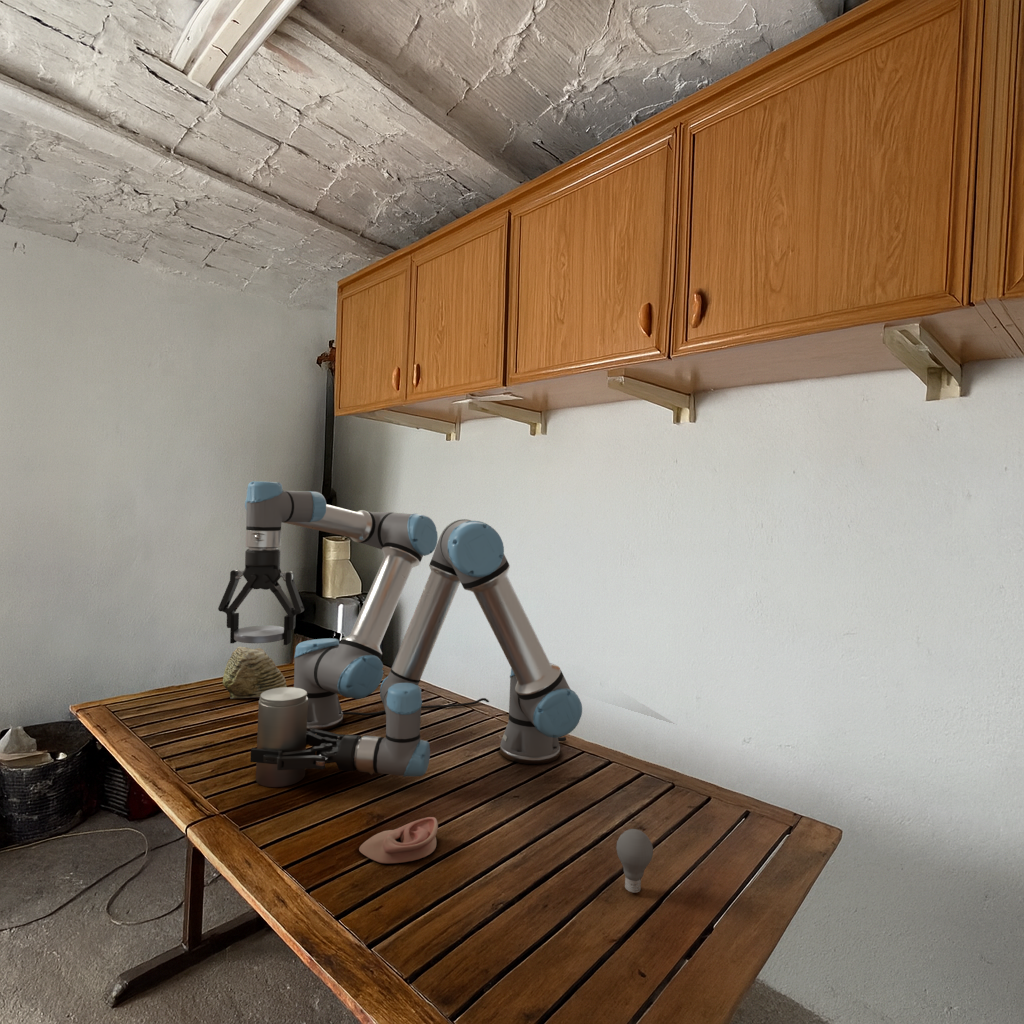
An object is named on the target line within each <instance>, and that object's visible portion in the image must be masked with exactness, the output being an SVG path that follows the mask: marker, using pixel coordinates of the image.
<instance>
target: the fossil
mask: <svg viewBox="0 0 1024 1024" xmlns="http://www.w3.org/2000/svg"><path fill="white" fill-rule="evenodd" d="M222 676H223V677H222V685H223V687H224V688H225V690H226V691H228V693H229V698H230V699H250V698H260V695H261V693H263V692H264V691H267V690H270V689H274V688H282V687H288V686H287V680H286V678H285V676H284V674H283V673H282V672H281V669H279V668H278V667H277V665H276V663H275V662H274V660H273V659H272V658H271V657H270V656H269V655H268V654H267V653H266V652H265V650H264V649H263V648H260V647H258V648H251V647H247V646H246V647H245V646H238V647H237V648H236V649H235V650H233V651H232V653H231V656H230V657H229V659H228V660H227V663H226V666H225V668H224V671H223V675H222Z"/></svg>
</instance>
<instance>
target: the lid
mask: <svg viewBox="0 0 1024 1024" xmlns="http://www.w3.org/2000/svg"><path fill="white" fill-rule="evenodd" d="M234 640H235V641H237V642H238V643H243V644H269V643H276V642H279V641H284V626H279V625H251V626H244V627H241V628H240V627H239V629H237V630H235V631H234Z"/></svg>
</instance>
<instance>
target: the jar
mask: <svg viewBox="0 0 1024 1024" xmlns="http://www.w3.org/2000/svg"><path fill="white" fill-rule="evenodd" d="M306 695H307V691H305V690H303V689H300V688H294V686H293V687H292V686H287V687H282V688H274V689H270V690H267V691H264V692H263V693H261V695H260V697H259V700H258V709H257V710H258V711H257V732H256V733H257V734H256V749H267V750H282V753H285V752H293V751H301V750H307V746H306V733H307V707H308V697H307V696H306ZM255 765H256V766H255V782H256V783H257V784H258V785H260V786H263V787H267V788H283V787H288V786H291V785H294V784H297V783H299V782H301V781H302V780H303V779H304V778H305V776H306V769H296V770H277V764H268V763H257V762H255Z"/></svg>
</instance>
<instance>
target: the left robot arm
mask: <svg viewBox="0 0 1024 1024" xmlns="http://www.w3.org/2000/svg"><path fill="white" fill-rule="evenodd" d="M244 508H245V512H246V516H245V522H246V523H245V526H246V527H245V528H246V529H245V547H246V548H247V549H246V550H245V553H244V569H243V570H240V569H238V568H236V569H233V570H231V571H230V572H229V582H228V584H227V586H226V588H225V591H224V593H223V595H222V598H221V601H220V602H219V605H218V608H217V610H218V612H223V613H225V614H226V628H227V629H229V632H230V633H229V634H230V635H229V639H230V640H229V644H235V643H237V642H238V641H235V640H234V631H235V630H237V629H240V624H239V623H240V613H239V612H237V610H238V608H239V607H240V606H241V605H242V603H243V602H244V600H245V599H246V598H247V597H248V595H249V594H250V593H251V591H252V590H263V591H264V590H265V591H266V590H267V591H268V590H270V592H271V593H273V595H274V596H275V598H276V599H277V601H278V602H279V604H280V605H281V607H282V609H283V610H284V611H285V613H286V615H284V618H283V627H284V639H283V646H288V645H289V644H290V643H291V642H292V631H293V630H295V629H296V617H297V615H300V614H301V613H303V612H304V611H305V606H304V604H303V602H302V599H301V596H300V593H299V590H298V588H297V585H296V582H295V572H294V571H293V570H290V571H282V570H281V550H280V549H279V548H280V547H281V545H282V523H283V524H288V525H293V526H296V527H302V528H307V529H311V530H315V531H320V532H325V533H330V534H334V535H339V536H343V537H344V536H345V537H348V538H349V539H351V540H352V541H353V542H354V543H359V544H363V545H366V546H370V547H373V548H375V549H379V550H381V551H382V554H383V559H382V561H381V563H380V565H379V568H378V570H377V573H376V575H375V577H374V579H373V581H372V584H371V586H370V589H368V593H367V595H366V597H365V599H364V602H363V605H362V606H361V609H360V611H359V613H358V615H357V618H356V620H355V622H354V625H353V627H352V628H351V630H350V634H349V635H347V636H344V637H342V638H341V640H340V641H339V639H338V638H331V637H329V638H317V639H316V638H315V639H308V640H304V641H301V642H299V643H298V644H297V645H296V646H295V652H294V656H293V658H294V670H293V671H294V672H293V687H294V688H300V689H303V690H305V691H307V695H306V696H307V697H308V707H307V731H309V732H310V729H318V730H322V731H329V730H332V729H335V728H337V727H339V726H340V725H342V723H343V722H344V715H345V716H364V717H365V716H367V717H368V716H377V715H381V714H386V712H385V709H383V710H379V711H373V712H356V711H343V709H342V706H341V702H340V699H339V695H340V696H342V697H345V698H348V699H355V700H359V699H365V698H367V697H368V696H370V695H372V694H373V693H374V692H375V691H376V690H377V688H378V687H379V686H380V685H381V683H382V681H383V677H384V669H383V668H384V663H383V661H382V660H381V658H382V656H383V652H382V649H381V644H382V641H383V639H384V636H385V634H386V632H387V629H388V627H389V625H390V622H391V619H392V618H393V615H394V612H395V610H396V608H397V605H398V603H399V601H400V598H401V596H402V594H403V592H404V589H405V586H406V584H407V581H408V579H409V576H410V574H411V572H412V570H413V568H415V567H418V566H420V564H421V562H422V560H423V557H426V556H429V555H430V554H432V553H434V551H435V549H436V546H437V543H438V540H439V535H438V531H437V526H436V524H435V522H434V521H433V519H432V518H431V517H430V516H428V515H426V514H419V513H417V512H416V513H415V512H414V513H405V512H394V511H393V512H392V511H383V512H381V511H368V510H364V509H360V510H356V511H354V510H350V509H346V508H343V507H339V506H335V505H331V504H327V500H326V498H325V496H324V495H323V494H322V493H321V492H319V491H311V490H284V488H283V484H282V482H279V481H260V480H259V481H257V480H256V481H255V480H253V481H250V482H249V483H248V484H247V489H246V498H245V501H244ZM242 578H244V580H245V581H246V583H245V584H244V585H243V587H242V589H241V590H240V592H239V593H238V595H237V596H236V597H235V598H234V599H233V597H234V594H235V591H236V590H237V587H238V585H239V582H240V580H241V579H242ZM281 578H282V581H284V582H285V586H286V588H287V592H288V594H289V596H290V599H291V600H290V599H289V597H288V596H287V594H286V593H285V592H284V591H283V589H282V586H281V584H280V583H279V580H280V579H281ZM232 599H233V601H232ZM231 601H232V602H231ZM291 602H292V603H291ZM483 701H484V702H486V703H490V700H489V699H487V698H485V697H481V698H479V699H477V700H475V701H471V702H470V701H469V702H463V703H450V704H437V705H435V704H434V705H421V709H441V708H442V709H443V708H453V707H465V706H466V707H467V706H473V705H476V704H478V703H480V702H483Z"/></svg>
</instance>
